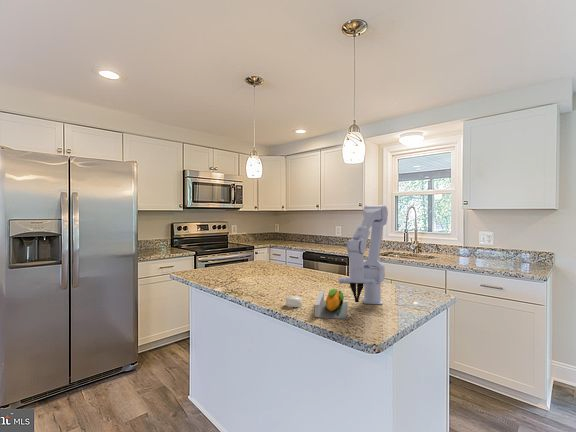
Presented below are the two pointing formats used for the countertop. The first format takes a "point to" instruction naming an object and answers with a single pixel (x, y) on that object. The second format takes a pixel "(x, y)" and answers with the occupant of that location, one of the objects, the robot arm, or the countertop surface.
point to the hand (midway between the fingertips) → (356, 301)
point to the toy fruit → (334, 300)
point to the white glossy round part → (293, 301)
